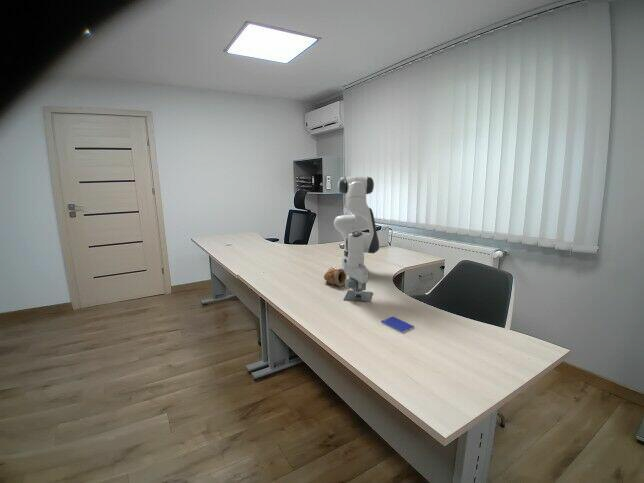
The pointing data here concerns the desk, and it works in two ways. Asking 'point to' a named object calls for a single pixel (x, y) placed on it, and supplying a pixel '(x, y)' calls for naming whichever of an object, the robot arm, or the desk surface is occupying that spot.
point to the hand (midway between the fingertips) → (355, 286)
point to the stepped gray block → (354, 284)
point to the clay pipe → (335, 276)
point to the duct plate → (358, 296)
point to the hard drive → (397, 324)
